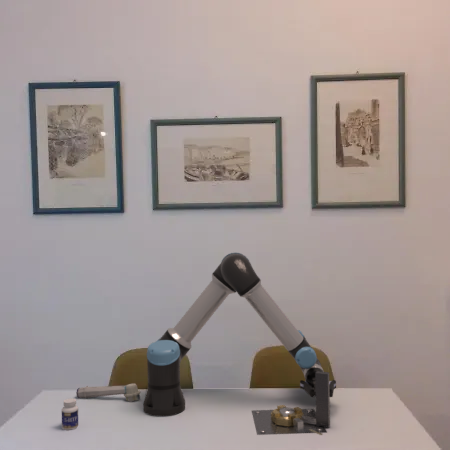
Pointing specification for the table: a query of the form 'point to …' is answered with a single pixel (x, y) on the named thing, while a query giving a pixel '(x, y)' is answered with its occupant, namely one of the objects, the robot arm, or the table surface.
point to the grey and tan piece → (321, 406)
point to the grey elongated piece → (110, 391)
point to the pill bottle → (69, 414)
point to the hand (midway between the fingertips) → (325, 401)
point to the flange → (269, 427)
